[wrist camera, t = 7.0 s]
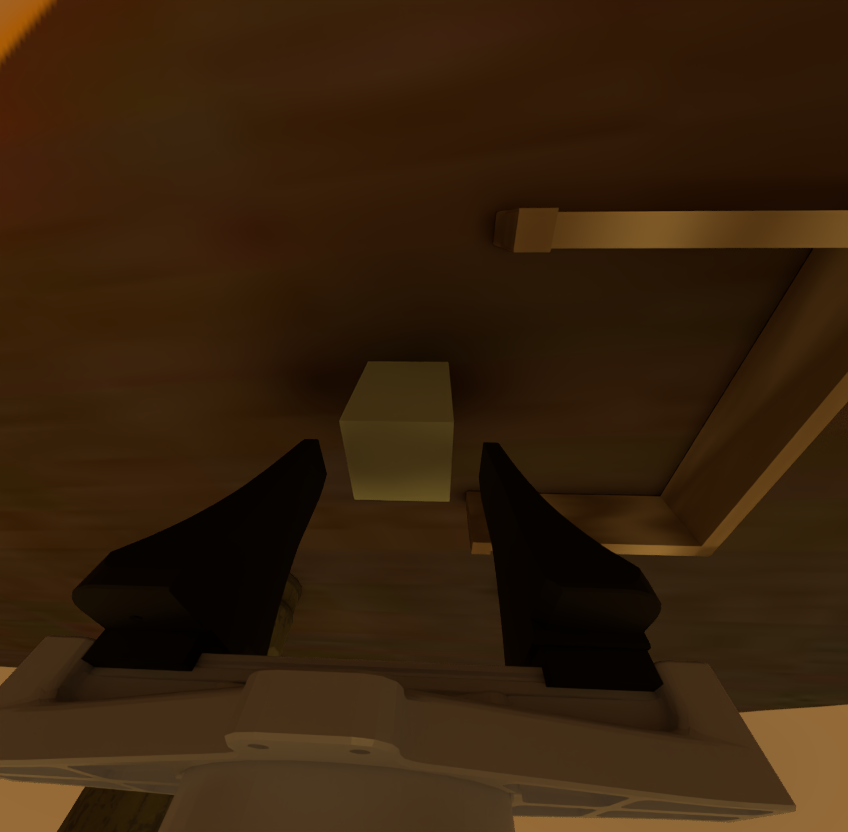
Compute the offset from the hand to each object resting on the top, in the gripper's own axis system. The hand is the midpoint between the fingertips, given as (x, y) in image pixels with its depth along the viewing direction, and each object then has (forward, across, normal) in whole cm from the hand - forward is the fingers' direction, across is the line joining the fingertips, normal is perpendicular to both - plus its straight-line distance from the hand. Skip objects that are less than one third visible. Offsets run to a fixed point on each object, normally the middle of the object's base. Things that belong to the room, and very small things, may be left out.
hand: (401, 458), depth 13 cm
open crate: (+6, -11, 0) cm, 12 cm away
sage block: (+6, 0, 0) cm, 6 cm away
